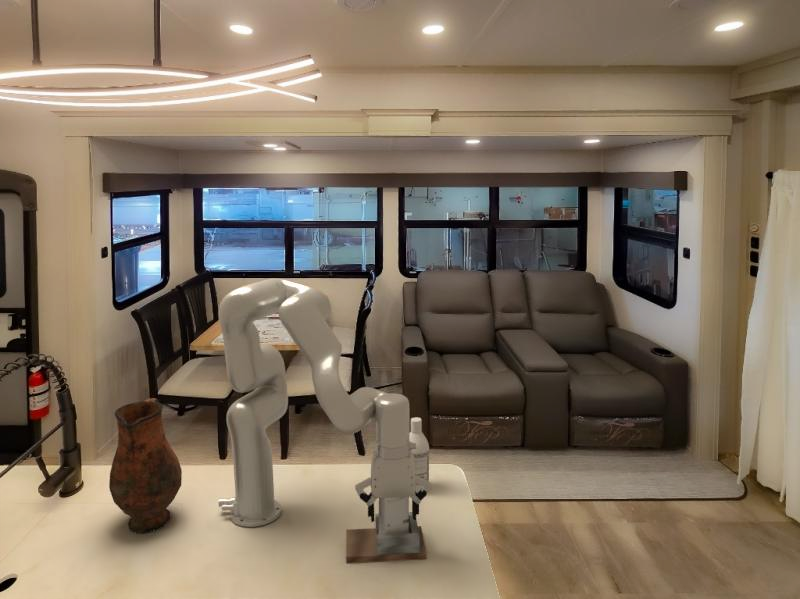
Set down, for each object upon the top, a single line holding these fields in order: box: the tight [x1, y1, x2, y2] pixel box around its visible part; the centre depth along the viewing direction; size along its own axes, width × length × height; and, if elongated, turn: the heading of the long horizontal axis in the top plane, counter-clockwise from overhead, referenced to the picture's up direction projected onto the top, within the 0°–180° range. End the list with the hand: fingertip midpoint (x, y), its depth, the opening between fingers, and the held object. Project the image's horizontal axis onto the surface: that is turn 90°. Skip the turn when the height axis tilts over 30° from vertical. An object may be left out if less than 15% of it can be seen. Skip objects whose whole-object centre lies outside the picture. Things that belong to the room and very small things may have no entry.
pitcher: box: [108, 397, 183, 534], centre depth 159 cm, size 17×21×30 cm
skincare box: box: [378, 497, 410, 535], centre depth 148 cm, size 6×4×12 cm
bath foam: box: [409, 416, 430, 493], centre depth 174 cm, size 7×7×20 cm
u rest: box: [345, 511, 427, 564], centre depth 148 cm, size 18×11×6 cm, turn 94°
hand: (393, 517), depth 148 cm, fingers open, 9 cm apart
